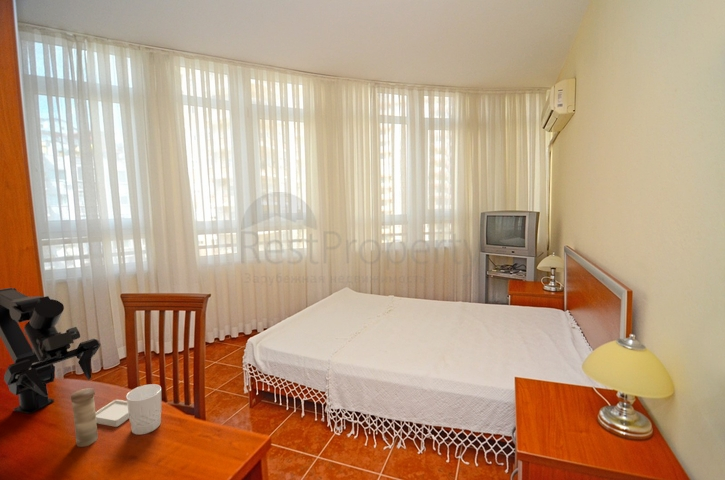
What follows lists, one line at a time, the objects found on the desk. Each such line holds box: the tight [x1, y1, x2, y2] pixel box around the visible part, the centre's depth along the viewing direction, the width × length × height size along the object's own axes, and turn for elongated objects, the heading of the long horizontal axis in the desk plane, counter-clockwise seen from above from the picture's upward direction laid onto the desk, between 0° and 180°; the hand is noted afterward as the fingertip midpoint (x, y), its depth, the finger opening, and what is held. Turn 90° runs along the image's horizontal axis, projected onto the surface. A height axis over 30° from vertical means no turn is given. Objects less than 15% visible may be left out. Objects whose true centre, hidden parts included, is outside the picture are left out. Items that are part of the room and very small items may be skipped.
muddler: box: [70, 387, 99, 448], centre depth 86 cm, size 5×5×13 cm
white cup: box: [125, 383, 162, 436], centre depth 92 cm, size 8×8×10 cm
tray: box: [95, 398, 130, 428], centre depth 97 cm, size 9×8×2 cm
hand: (69, 387), depth 89 cm, fingers open, 9 cm apart
